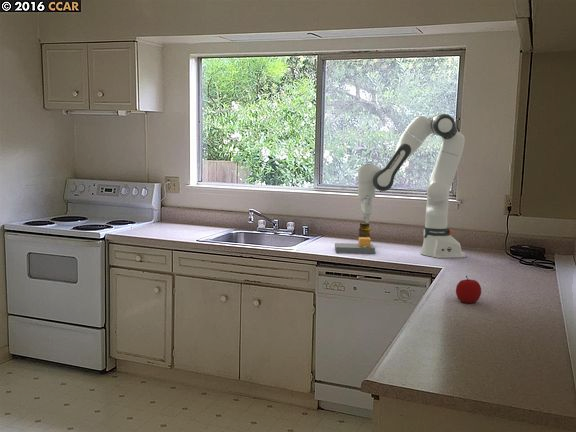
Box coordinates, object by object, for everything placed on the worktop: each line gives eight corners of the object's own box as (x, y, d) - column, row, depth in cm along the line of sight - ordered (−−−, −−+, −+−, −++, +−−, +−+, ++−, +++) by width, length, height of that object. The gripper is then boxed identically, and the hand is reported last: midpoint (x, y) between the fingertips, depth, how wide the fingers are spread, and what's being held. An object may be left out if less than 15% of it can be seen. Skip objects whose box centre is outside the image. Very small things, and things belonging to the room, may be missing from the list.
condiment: (372, 245, 342) (373, 223, 340) (362, 246, 336) (363, 225, 335) (362, 243, 347) (363, 221, 346) (352, 244, 341) (353, 223, 340)
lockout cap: (369, 244, 325) (369, 237, 325) (370, 246, 320) (370, 239, 319) (358, 244, 325) (358, 237, 325) (359, 246, 320) (359, 239, 319)
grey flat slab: (372, 249, 329) (372, 242, 328) (374, 254, 317) (375, 247, 316) (334, 248, 329) (334, 241, 329) (335, 252, 317) (336, 246, 317)
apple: (469, 306, 225) (471, 279, 224) (449, 300, 232) (451, 274, 231) (485, 303, 230) (487, 276, 229) (465, 297, 238) (467, 272, 236)
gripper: (374, 196, 308) (374, 224, 310) (370, 192, 329) (370, 218, 331) (362, 196, 309) (362, 224, 311) (358, 192, 329) (358, 218, 331)
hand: (366, 221), depth 321 cm, fingers open, 8 cm apart
